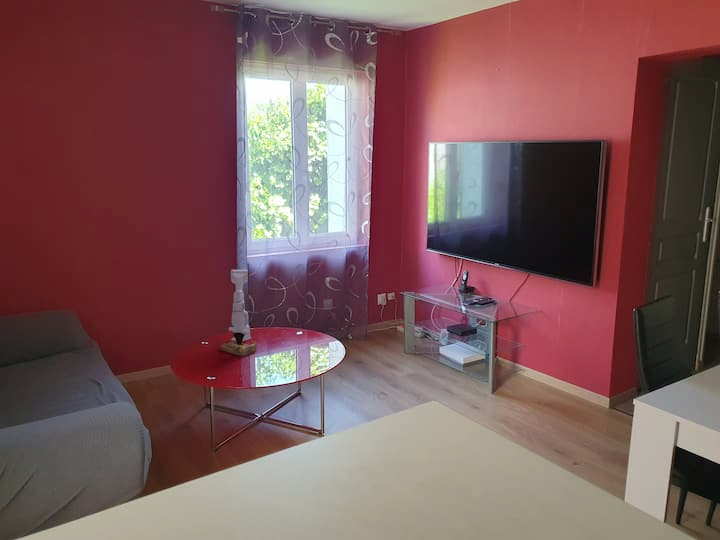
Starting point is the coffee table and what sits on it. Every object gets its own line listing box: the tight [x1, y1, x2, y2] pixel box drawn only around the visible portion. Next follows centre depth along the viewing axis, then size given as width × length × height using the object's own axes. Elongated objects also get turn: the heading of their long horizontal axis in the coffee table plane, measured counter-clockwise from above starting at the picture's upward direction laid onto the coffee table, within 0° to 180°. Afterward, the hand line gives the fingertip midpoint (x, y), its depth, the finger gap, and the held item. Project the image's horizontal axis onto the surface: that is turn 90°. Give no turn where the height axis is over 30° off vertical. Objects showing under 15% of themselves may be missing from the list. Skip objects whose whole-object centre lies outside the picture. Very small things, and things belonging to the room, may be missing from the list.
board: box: [219, 340, 257, 357], centre depth 326 cm, size 11×18×4 cm, turn 58°
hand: (239, 344), depth 326 cm, fingers closed
